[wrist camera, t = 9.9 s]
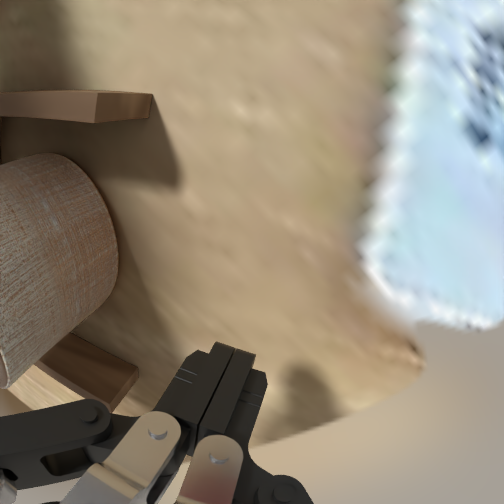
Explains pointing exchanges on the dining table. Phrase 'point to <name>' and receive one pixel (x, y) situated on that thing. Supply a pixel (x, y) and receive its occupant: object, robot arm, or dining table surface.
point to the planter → (49, 257)
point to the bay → (69, 347)
